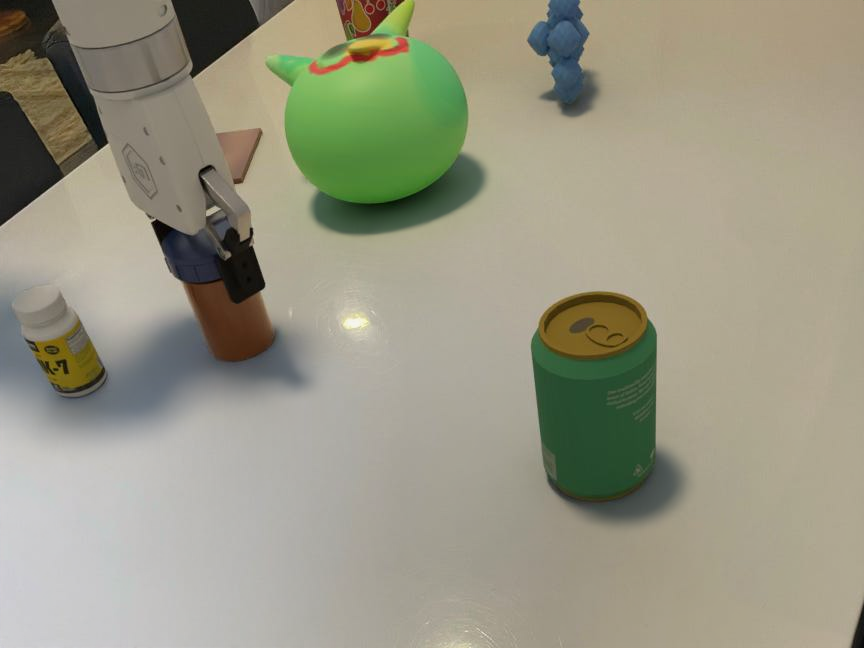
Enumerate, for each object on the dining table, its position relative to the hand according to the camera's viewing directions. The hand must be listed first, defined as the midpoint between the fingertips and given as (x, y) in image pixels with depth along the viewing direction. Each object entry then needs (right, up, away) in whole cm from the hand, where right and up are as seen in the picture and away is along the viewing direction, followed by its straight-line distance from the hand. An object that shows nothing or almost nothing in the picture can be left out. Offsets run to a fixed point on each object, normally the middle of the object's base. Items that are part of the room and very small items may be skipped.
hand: (216, 276), depth 81 cm
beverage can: (+31, -18, -11) cm, 38 cm away
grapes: (+31, +30, +27) cm, 52 cm away
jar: (+1, -4, +5) cm, 6 cm away
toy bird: (+13, +16, +19) cm, 28 cm away
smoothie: (+11, +37, +35) cm, 52 cm away
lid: (0, +2, -2) cm, 3 cm away
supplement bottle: (-13, -8, +4) cm, 16 cm away
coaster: (-10, +24, +29) cm, 38 cm away
